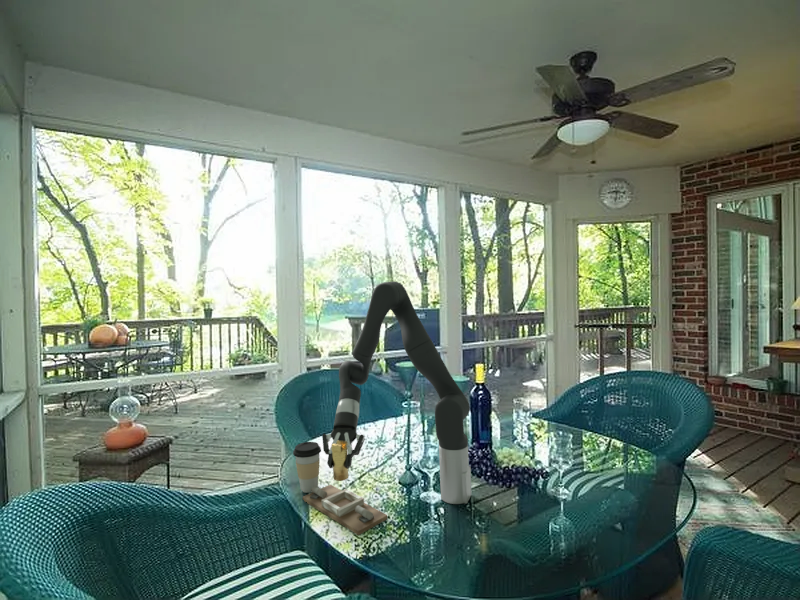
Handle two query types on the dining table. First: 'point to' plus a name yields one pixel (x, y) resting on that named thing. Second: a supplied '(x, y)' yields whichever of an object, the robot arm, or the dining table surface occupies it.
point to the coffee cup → (307, 464)
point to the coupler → (339, 460)
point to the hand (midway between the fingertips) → (338, 467)
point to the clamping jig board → (345, 508)
